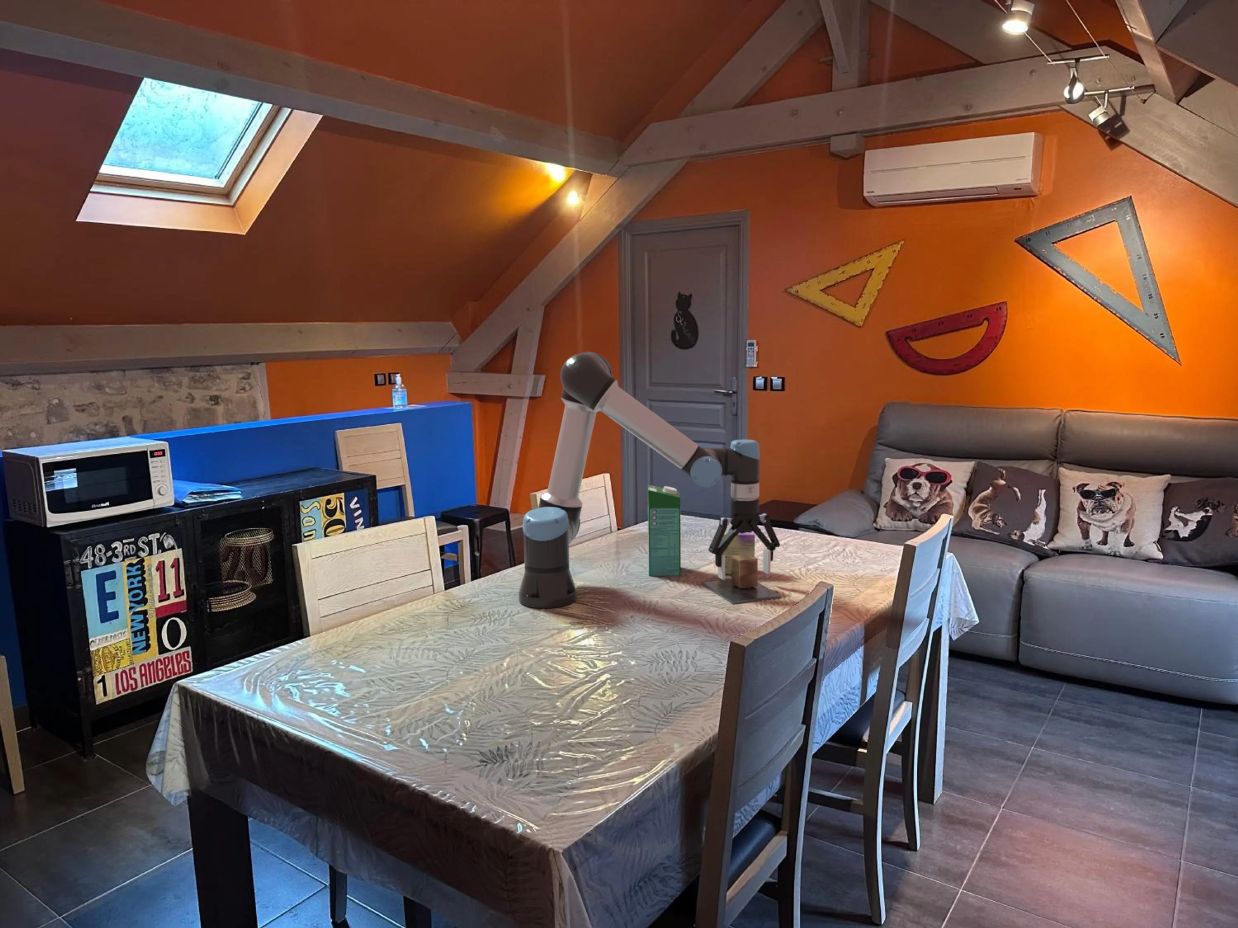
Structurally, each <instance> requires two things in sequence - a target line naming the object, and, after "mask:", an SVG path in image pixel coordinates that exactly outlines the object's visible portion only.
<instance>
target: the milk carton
mask: <svg viewBox="0 0 1238 928" xmlns="http://www.w3.org/2000/svg"><path fill="white" fill-rule="evenodd" d="M681 522H682V521H681V495H680V492H679V491H678V490H677V488H675V487H672V486H666V485H664V486H663V487H659V486H656V485H652V484H647V523H648V524H647V536H648V539H647V541H648V543H647V546H648V547H647V549H648V551H647V552H648V553H647V554H648V555H647V556H648V557H647V558H648V575H649V577H655V576H657V577H661V576H663V577H664V576H665V577H667V576H668V577H670V576H671V577H673V576H677V577H678V576H681V575H682V572H681V571H682V568H681V564H682V563H681V560H682V558H681V553H682V552H681V550H682V549H681V544H682V543H681V535H682V534H681V531H682V530H681V527H682V526H681V525H682V524H681Z"/></svg>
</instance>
